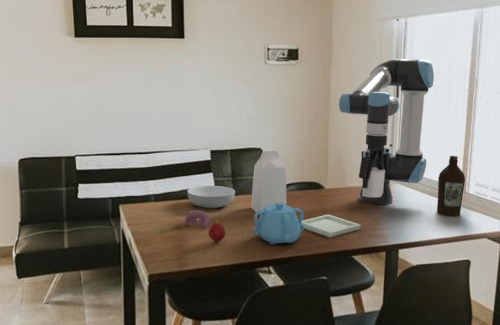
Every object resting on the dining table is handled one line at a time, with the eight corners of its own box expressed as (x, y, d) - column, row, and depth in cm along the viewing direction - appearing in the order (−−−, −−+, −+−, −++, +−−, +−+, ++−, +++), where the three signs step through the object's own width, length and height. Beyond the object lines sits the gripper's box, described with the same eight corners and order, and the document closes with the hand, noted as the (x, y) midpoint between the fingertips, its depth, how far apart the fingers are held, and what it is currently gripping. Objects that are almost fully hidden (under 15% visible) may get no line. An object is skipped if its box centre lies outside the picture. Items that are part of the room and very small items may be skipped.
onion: (208, 240, 193) (208, 218, 192) (224, 239, 194) (225, 218, 192) (208, 245, 188) (208, 223, 186) (225, 245, 188) (225, 223, 187)
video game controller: (209, 230, 209) (212, 212, 210) (205, 228, 205) (208, 210, 206) (186, 227, 212) (189, 210, 213) (181, 225, 208) (185, 207, 209)
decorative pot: (309, 238, 197) (311, 202, 195) (286, 250, 184) (287, 212, 182) (271, 230, 207) (272, 195, 204) (247, 240, 194) (248, 203, 191)
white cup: (384, 198, 199) (385, 172, 197) (362, 197, 201) (363, 170, 199) (382, 193, 207) (384, 167, 205) (361, 192, 208) (363, 166, 206)
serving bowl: (242, 203, 243) (243, 188, 242) (220, 215, 225) (221, 198, 223) (202, 197, 252) (202, 183, 250) (178, 208, 233) (177, 192, 232)
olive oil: (432, 209, 239) (437, 153, 235) (457, 210, 239) (462, 154, 234) (439, 216, 229) (444, 158, 224) (465, 217, 228) (470, 159, 224)
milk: (276, 205, 240) (278, 147, 235) (286, 212, 229) (288, 152, 224) (250, 207, 236) (252, 148, 231) (259, 214, 226) (261, 153, 221)
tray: (328, 218, 222) (328, 214, 222) (360, 229, 209) (360, 224, 209) (298, 225, 212) (298, 221, 211) (330, 237, 199) (330, 232, 198)
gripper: (367, 137, 190) (363, 201, 194) (401, 133, 203) (397, 192, 207) (350, 135, 196) (347, 196, 200) (385, 131, 209) (381, 188, 213)
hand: (372, 194), depth 204 cm, fingers closed on white cup, 8 cm apart
